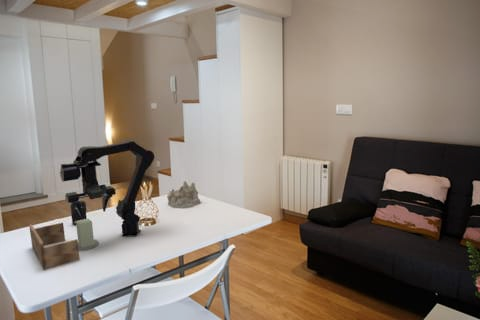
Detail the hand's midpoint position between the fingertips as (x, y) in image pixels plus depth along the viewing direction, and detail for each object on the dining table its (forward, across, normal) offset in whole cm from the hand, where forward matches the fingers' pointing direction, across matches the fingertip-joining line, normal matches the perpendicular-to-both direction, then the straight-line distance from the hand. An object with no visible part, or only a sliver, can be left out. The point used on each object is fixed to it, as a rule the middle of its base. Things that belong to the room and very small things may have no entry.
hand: (92, 213), depth 154 cm
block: (+12, -4, 0) cm, 13 cm away
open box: (+13, -16, 0) cm, 20 cm away
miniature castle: (+13, +56, +24) cm, 62 cm away
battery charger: (+13, +1, +30) cm, 33 cm away
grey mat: (+13, -4, 0) cm, 14 cm away
